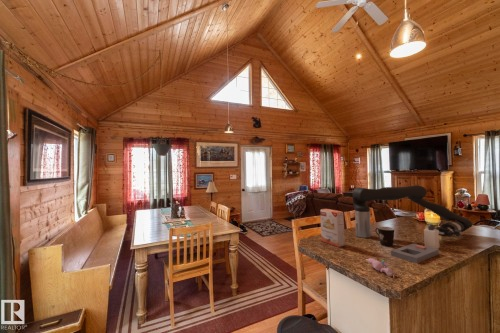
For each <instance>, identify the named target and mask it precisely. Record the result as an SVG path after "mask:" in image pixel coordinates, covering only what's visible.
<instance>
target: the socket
mask: <svg viewBox="0 0 500 333" xmlns="http://www.w3.org/2000/svg"><path fill="white" fill-rule="evenodd" d="M439 249H440V248H438V249H435V248H430V247H426V246H425V245H422V244H417V243H411V244H407V245H404V246H402V247H399V248H395V249H392V250H390V256H392V257H394V258H398V259H400V260H404V261H408V262H411V263H414V264H420V263H421V262H423V261H427V260H428V259H429V260H430V259H431V258H434V257H436V256H438V255H439V254H440V250H439Z"/></svg>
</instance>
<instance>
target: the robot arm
mask: <svg viewBox="0 0 500 333" xmlns="http://www.w3.org/2000/svg"><path fill="white" fill-rule="evenodd" d="M427 194H428V190H427V188H425V187H424V186H421V185H418V184H417V185H416V184H415V185H410V186H409V185H408V186H388V187H387V186H386V187H381V188H375V189H374V188H367V187H356V188H354V189H353V191H352V203H353V207H354V218H355V219H354V220H355V223H354V224H355V236H356V237H358V238H365V239H367V238H368V239H369V238H371V237H372V228H371V210H370V206H369V205H367V203H366V202H372V201H398V200H401V199H404V198H405V199H406V198H408V199H409V200H410V201H412V202H413V203H415V204H417V205H420V206H421V207H423V208H425V209H427V210H428V211H431V212H432V213H434V214H436V215H437V216H438V217H440V218H442V219H443V220H444V221H446V222H445V223H443V224H441V225H440V226H435V225H433V226H434V230H438V231H440V232H439V233H444V234H445V236H448V237H452V236H453V237H454V236H456V237H459V236H461V235H462V233H463V232H465V231H467V230H469V229H470V228H471V227H473V222H472V221H471V220H470V219H469V218H467V217H465V216H462V215H459V214H457V213H456V212H455V213H454V212H453V211H451V210H450V209H449V208H448V207H445V206H443V205H441V204H438V203H434V202H431V201H428V200H426V199H424V198H425V197H426V196H427Z"/></svg>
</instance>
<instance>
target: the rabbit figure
mask: <svg viewBox="0 0 500 333" xmlns="http://www.w3.org/2000/svg"><path fill="white" fill-rule="evenodd" d="M365 261H367V262H368V263H369V264H371V266H372V267H373V268H374V270H376V271H378V272H381V273H382V272H383V273H385V274H386V276H388V277H389V278H391V277H392V279H395V278H396V277H397V278H399V277H400V276H399V273H397V271H394V270H393V269H392V268H390V267H389V266H388V264H387V263H386V261H385V260H382V261H380V260H377V259H375V258H372V257H371V258H370V257H369V258H367V259H365ZM395 276H396V277H395Z"/></svg>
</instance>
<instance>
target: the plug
mask: <svg viewBox="0 0 500 333" xmlns="http://www.w3.org/2000/svg"><path fill="white" fill-rule="evenodd" d="M434 226H435V225H434V224H433V223H428V224H427V228H425V229H423V238H424V239H423V241H424V246H426V247H430V248H435V249H440V236H439V235H440V234H439V231H438V230H436V229H435V230H434Z"/></svg>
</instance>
